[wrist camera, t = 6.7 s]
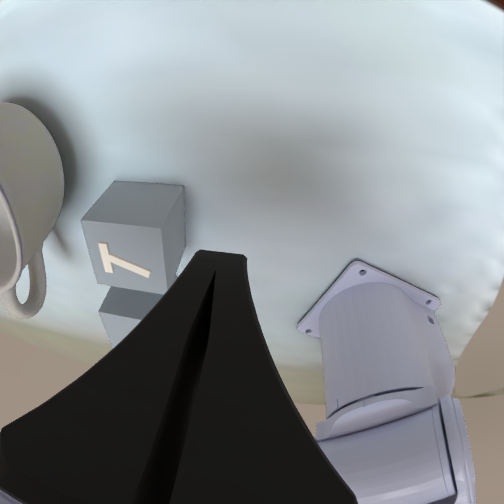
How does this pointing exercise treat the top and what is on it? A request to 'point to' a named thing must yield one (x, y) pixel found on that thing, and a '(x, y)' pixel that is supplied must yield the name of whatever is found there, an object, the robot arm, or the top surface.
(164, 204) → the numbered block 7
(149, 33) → the top surface
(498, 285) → the top surface
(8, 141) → the teacup
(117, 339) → the plain block
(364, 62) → the top surface
